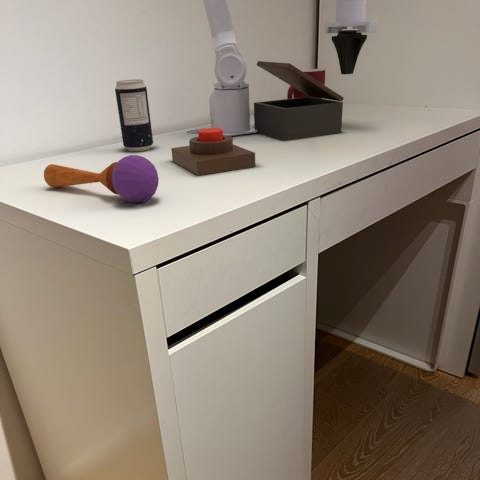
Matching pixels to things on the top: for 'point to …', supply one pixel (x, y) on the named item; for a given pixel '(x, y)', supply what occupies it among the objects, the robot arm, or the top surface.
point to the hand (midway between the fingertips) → (347, 74)
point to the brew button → (210, 134)
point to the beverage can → (134, 114)
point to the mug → (314, 73)
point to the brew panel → (212, 156)
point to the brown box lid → (299, 80)
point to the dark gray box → (298, 117)
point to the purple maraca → (112, 178)
